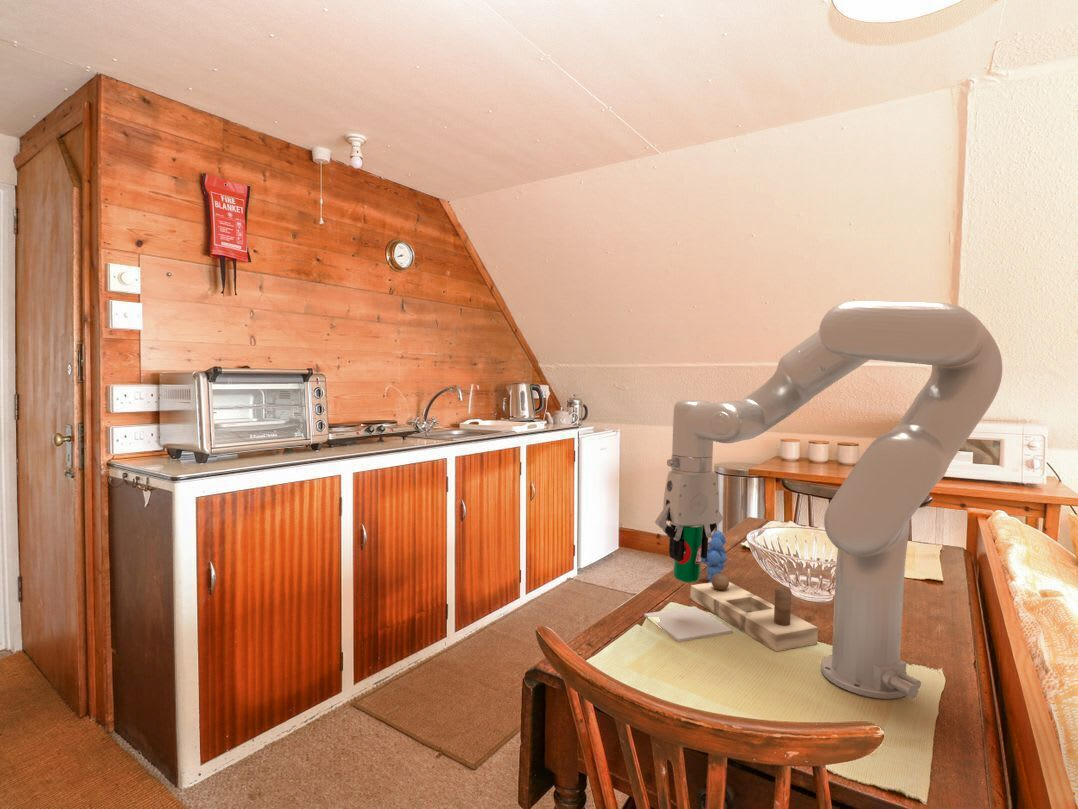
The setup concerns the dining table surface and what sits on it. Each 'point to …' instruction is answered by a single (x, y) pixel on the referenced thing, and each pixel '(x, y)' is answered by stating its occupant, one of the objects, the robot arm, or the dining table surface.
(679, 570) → the soda can
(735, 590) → the wooden holder block
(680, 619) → the mat
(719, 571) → the grapes
